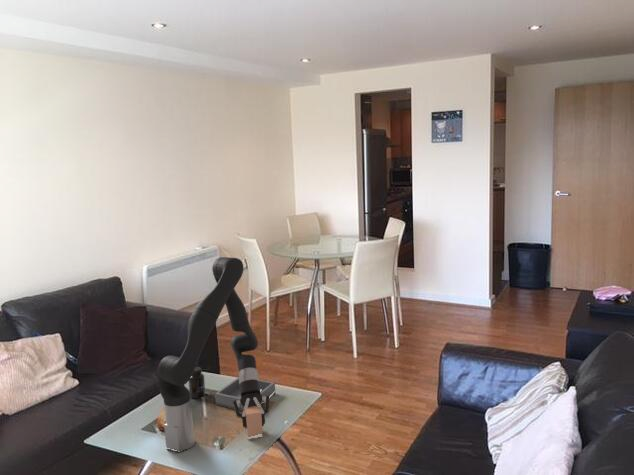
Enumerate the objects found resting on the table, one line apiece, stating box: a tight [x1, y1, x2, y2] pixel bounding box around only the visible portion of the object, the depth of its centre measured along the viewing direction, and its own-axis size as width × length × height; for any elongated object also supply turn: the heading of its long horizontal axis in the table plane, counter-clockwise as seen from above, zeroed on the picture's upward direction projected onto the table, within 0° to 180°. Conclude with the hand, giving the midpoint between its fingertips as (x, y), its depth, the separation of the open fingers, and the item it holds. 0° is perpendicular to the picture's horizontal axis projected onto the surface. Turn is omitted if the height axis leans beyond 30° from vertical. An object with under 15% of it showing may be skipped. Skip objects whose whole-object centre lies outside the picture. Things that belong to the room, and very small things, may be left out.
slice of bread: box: [156, 407, 166, 432], centre depth 210 cm, size 18×18×4 cm
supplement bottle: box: [187, 366, 206, 399], centre depth 227 cm, size 7×7×12 cm
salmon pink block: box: [245, 406, 264, 437], centre depth 194 cm, size 6×6×10 cm
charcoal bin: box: [214, 376, 276, 412], centre depth 222 cm, size 18×18×5 cm
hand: (254, 426), depth 192 cm, fingers closed on salmon pink block, 5 cm apart
